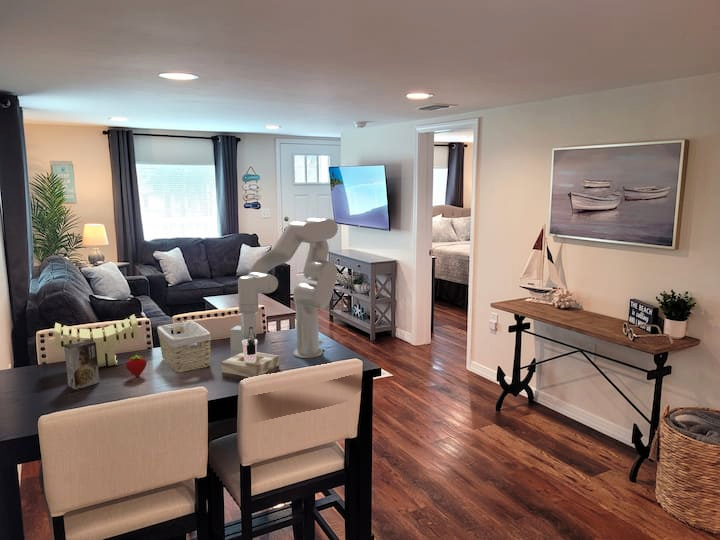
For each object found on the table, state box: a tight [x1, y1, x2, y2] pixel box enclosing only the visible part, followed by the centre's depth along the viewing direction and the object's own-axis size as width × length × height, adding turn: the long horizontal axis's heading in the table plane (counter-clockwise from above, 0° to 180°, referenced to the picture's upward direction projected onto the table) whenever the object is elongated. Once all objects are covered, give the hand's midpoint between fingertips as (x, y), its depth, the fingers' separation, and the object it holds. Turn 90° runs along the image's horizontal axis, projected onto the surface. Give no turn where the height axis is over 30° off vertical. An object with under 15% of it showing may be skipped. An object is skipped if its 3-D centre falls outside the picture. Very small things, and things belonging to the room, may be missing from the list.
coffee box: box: [63, 339, 101, 390], centre depth 197 cm, size 9×6×16 cm
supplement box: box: [229, 325, 245, 358], centre depth 230 cm, size 7×7×13 cm
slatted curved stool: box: [53, 313, 140, 368], centre depth 220 cm, size 30×16×18 cm, turn 118°
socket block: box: [220, 351, 280, 380], centre depth 211 cm, size 16×16×6 cm
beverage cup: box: [242, 336, 258, 363], centre depth 209 cm, size 6×6×14 cm
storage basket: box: [156, 320, 212, 373], centre depth 221 cm, size 24×16×15 cm
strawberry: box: [125, 352, 148, 378], centre depth 205 cm, size 6×8×10 cm
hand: (250, 351), depth 210 cm, fingers closed on beverage cup, 6 cm apart
